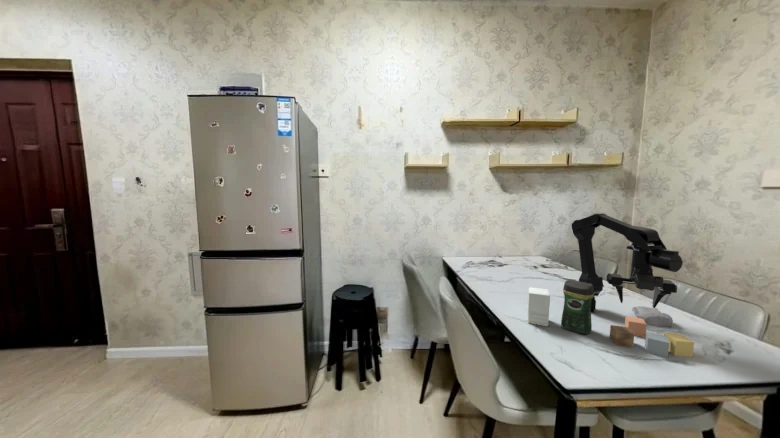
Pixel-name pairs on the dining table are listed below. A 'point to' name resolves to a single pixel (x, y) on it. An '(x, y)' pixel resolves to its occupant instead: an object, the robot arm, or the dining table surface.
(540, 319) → the supplement box
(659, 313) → the stone block
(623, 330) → the walnut cube
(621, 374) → the dining table surface
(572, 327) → the coffee jar
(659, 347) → the slate cube
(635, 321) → the terracotta cube
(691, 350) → the ochre cube
